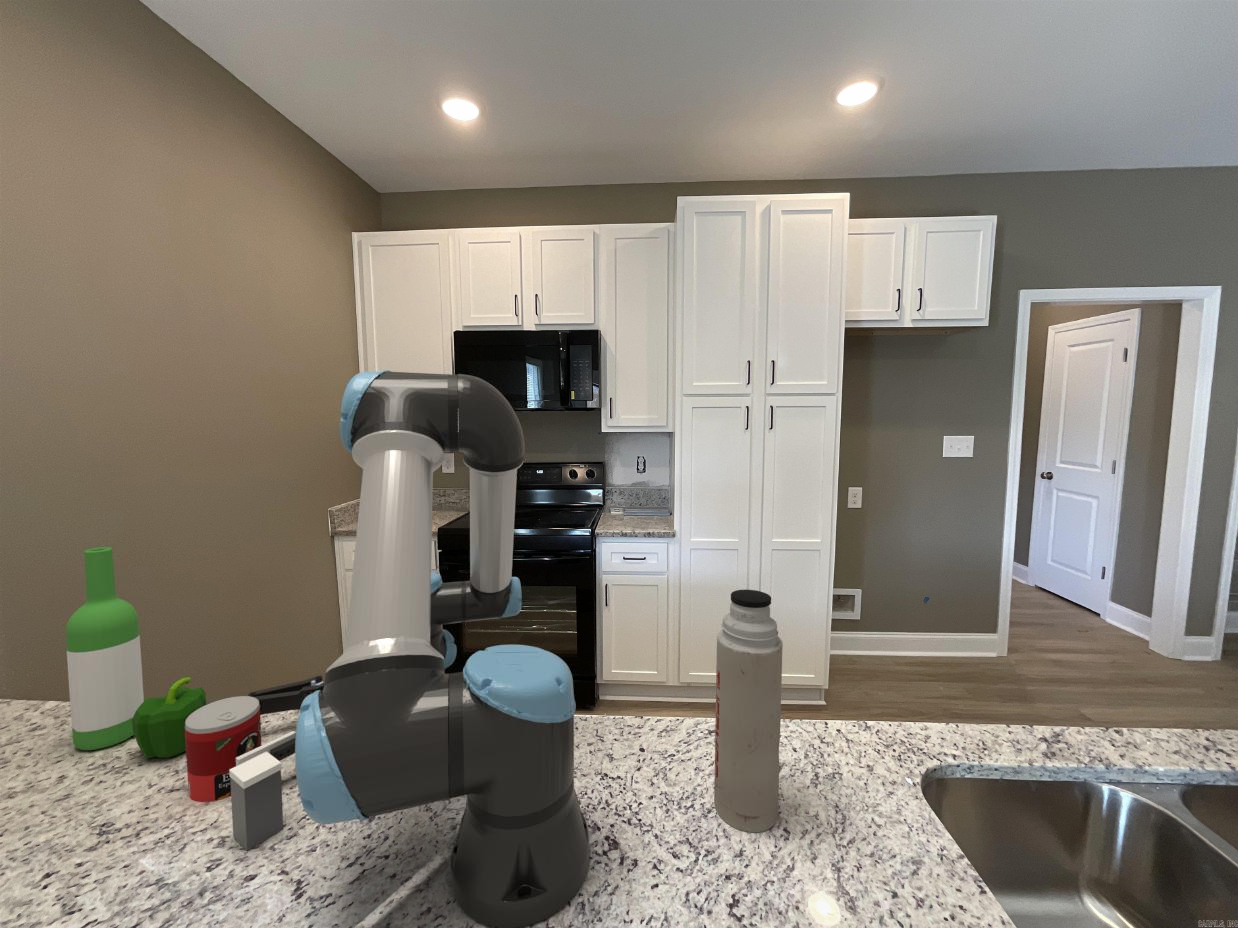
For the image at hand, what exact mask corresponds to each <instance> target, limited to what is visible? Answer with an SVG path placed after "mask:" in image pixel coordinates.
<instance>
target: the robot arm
mask: <svg viewBox="0 0 1238 928" xmlns="http://www.w3.org/2000/svg"><path fill="white" fill-rule="evenodd" d="M340 415H341V417H340V422H339V431H340V438H341V442H342V445H343V448H344V449H345V450H346V451H348V452H349V453H351V456H352V459H353V461H354V462H355V463H356V464H357V466H358V467H360V468H361V469H362V476H361V489H360V497H359V507H358V514H357V515H358V519H357V527H356V535H355V538H356V539H355V548H354V558H353V567H352V577H351V587H350V594H349V595H350V596H349V603H348V604H349V607H348V615H347V616H348V617H347V625H346V636H345V646H344V650H343V653H342V654H341V655H340V656H339V657H338V658H337V659H336V660H335V661H334V662H333V663H332V664H330V666H329V667H327V668H326V671H325V677H324V681H323V675H316V676H313V677H311V678H308V679H305V680H304V679H303V680H300V681H295V682H290V683H287V684H283V685H282V684H281V685H277V686H273V687H268V688H264V689H259V690H254V691H251V692H249V693H248V694H247V696H250V697H254V698H256V699H258V701H259V705H260V716H263V715H269V714H274V713H275V714H276V713H282V712H289V711H297V710H298V711H299V715H298V716H297V717H298V718H297V721H296V729H295V731H294V730H292V731H290V732H288V733H285V734H283V735H282V736H279V737H277V738H275V739H273V740H271V741H268V742H267V743H264V744H261V745H262V746H260V747H258V748H256V749H254V750H251V751H249V752H247V753H245V754H243V755H241V756H239V757H237V758H236V766H238V765H240V764H242V763H244V762H246V761H248V760H250V759H252V758H254V757H256V756H258V755H260V754H263V753H265V752H268V753H269V754H271V755H272V756H273V757H274V758H276V759H277V760H278V761H280V762H281V761H282V760H284V759H286V758H288V757H290V756H292V755H294V756H295V758H294V760H295V773H296V783H297V788H298V793H299V798H300V801H301V804H302V807H303V809H304V812H305V813H306V815H307V816H308V818H309V819H311V821H312V822H315V823H316V824H319V825H333V824H339V823H344V822H349V821H350V822H351V821H356V820H359V821H363V822H364V821H366V820H368V819H370V818H372V817H375V816H381V815H385V814H390V813H393V812H399V811H402V810H403V811H404V810H407V809H411V808H415V807H420V806H425V805H429V804H434V803H438V802H443V801H447V800H450V799H453V798H459V797H462V796H463V797H464V796H466V805H465V808H464V811H463V815H462V817H461V821H460V824H459V829H458V833H457V834H456V837H455V839H454V841H453V846H452V850H451V856H450V883H451V885H450V886H451V890H452V894H453V896H454V900H455V901H456V903H457V904H458V906H459V908H460V909H461V910H462V912H464V913H465V914H466V915H467V916H468V917H470V918H471V919H472V920H473V921H476V922H478V923H480V924H483V925H486V926H489V927H492V928H521V927H526V926H530V925H533V924H536V923H539V922H541V921H543V920H546V919H547V918H549V917H551V916H552V915H554V914H555V913H557V912H558V911H560V910H561V909H563V908H564V907H565V906H566V905H567V904H568V903H569V902H570V901H571V899H573V897H575V895H576V894H577V892H578V891H579V890H580V888H581V886H582V885H583V883H584V881H585V878H586V876H587V873H588V870H589V864H590V832H589V827H588V823H587V821H586V818H585V816H584V813H583V811H582V810H581V805H580V801H579V797H578V794H577V792H576V790H575V778H574V777H575V774H574V773H575V754H574V753H575V714H576V713H575V712H576V706H577V705H576V700H575V694H574V681H573V675H572V672H571V670H570V668H569V666H568V664H567V663H566V662H565V661H564V660H563V659H562V658H561V657H560V656H558V655H556V654H554V653H553V652H551V651H549V650H545V649H543V648H541V647H537V646H532V645H525V644H499V645H493V646H489V647H486V648H485V649H484V650H477V651H476V652H475V653H473V654H472V655H471V656H469V658H468V659H467V660H466V663H465V665H464V666H463V668H462V669H463V670H462V671H459V672H453V673H445V670H446V669H447V668H449V667H450V666H451V665H453V663H454V662H455V660H456V657H457V650H458V649H457V645H456V644H455V638H454V636H453V635H452V634H451V633H450V632H449V631H448V630H447V629H444V628H443V625H451V624H457V623H465V622H474V621H475V622H477V621H485V620H486V621H487V620H495V619H496V620H499V619H504V618H508V617H513V616H517V615H519V613H520V612H521V610H522V597H523V596H522V585H521V581H520V578H519V577H517V576H512V575H513V574H512V573H513V571H512V570H513V555H514V554H513V553H514V535H515V516H516V515H515V514H516V494H517V480H518V477H517V474H518V469H520V468H521V467H522V465H523V463H524V461H525V446H526V445H525V439H524V437H525V436H524V434H523V433H524V431H523V428H522V425H521V423H520V420H519V418H518V416H517V414H516V412H515V410H514V409H513V407H512V405H511V404H510V402H509V400H507V399H506V397H505V396H504V395H503V393H501V392H500V391H499V390H498V389H497V388H496V387H495V386H493V385H492V384H490V383H489V381H488V382H487V381H486V380H484V379H482V378H480V377H477V376H473V375H469V374H462V373H458V374H449V373H448V374H447V373H446V374H445V373H431V372H430V373H428V372H426V373H425V372H408V371H407V372H406V371H403V372H402V371H401V372H400V371H391V370H390V369H389V370H387V369H386V370H385V369H384V370H381V371H380V370H379V371H362V372H358V373H357V374H355V375H354V376H353V377H351V379H350V380H349V382H348V383H347V386H346V387H345V389H344V393H343V396H342V401H341V406H340ZM459 452H460V453H461V452H462V460H463V463H464V466H466V467H467V468H468V469H469V542H470V543H469V547H470V548H469V564H470V566H469V568H470V569H469V571H470V572H469V573H470V575H469V577H470V578H469V580H464V581H462V580H461V581H451V582H443V580H442V575H441V574H440V573H437V572H434V571H432V554H433V553H432V543H433V542H432V540H433V485H434V483H433V481H434V477H433V476H434V472H435V471H437V470H438V469H439V468H440V467H441V466H442V465H443V463H444V461H445V453H459Z"/></svg>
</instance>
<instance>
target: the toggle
mask: <svg viewBox="0 0 1238 928" xmlns="http://www.w3.org/2000/svg"><path fill="white" fill-rule="evenodd" d="M229 774H230V780H231V796H230V798H231V817H232V818H231V819H232V837H233V839H235V841H236V842H238V843H239V845H241V847H242V848H243V849H244V850H245V851H247V852H249V851H250V850H252V849H253V848H256V846H258V845H259V844H261V843H262V842H265V841H267V839H269V838H271V837H273V836H274V835H276V834H278V833H279V832H281V831H282V830H284V815H283V813H284V812H283V788H282V787H283V785H282V762H281V761H278V760H277V759H276V758H274V757H273V756H272V755H271V754H269V753H268V752H265V753H263V754H260V755H258V756H256V757H254V758H252V759H250V760H248V761H246V762H244V763H242V764H240V765H238V766H236V767H234V768H232V769H230V770H229Z"/></svg>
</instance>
